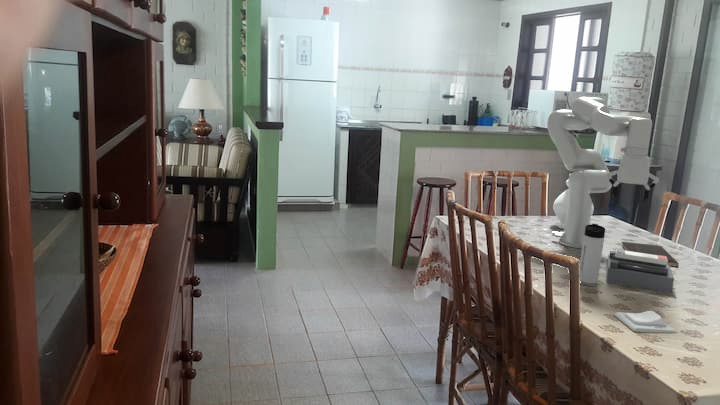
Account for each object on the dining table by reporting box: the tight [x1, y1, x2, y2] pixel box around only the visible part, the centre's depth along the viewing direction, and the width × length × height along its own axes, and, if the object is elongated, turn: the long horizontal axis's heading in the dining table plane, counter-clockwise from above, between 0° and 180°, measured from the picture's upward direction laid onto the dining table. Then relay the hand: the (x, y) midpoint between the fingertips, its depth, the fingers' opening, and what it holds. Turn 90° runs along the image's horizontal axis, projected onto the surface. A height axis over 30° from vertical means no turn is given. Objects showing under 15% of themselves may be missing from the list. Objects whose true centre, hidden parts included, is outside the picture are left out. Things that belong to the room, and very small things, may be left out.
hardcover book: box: [621, 241, 679, 268], centre depth 230 cm, size 16×23×2 cm
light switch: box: [613, 310, 678, 334], centre depth 162 cm, size 11×4×13 cm
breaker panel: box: [605, 250, 675, 294], centre depth 199 cm, size 20×16×7 cm
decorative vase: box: [552, 172, 595, 230], centre depth 267 cm, size 18×18×25 cm
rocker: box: [614, 248, 668, 265], centre depth 198 cm, size 16×5×2 cm, turn 68°
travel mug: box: [579, 223, 606, 287], centre depth 192 cm, size 6×7×20 cm
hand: (629, 198), depth 210 cm, fingers open, 9 cm apart
